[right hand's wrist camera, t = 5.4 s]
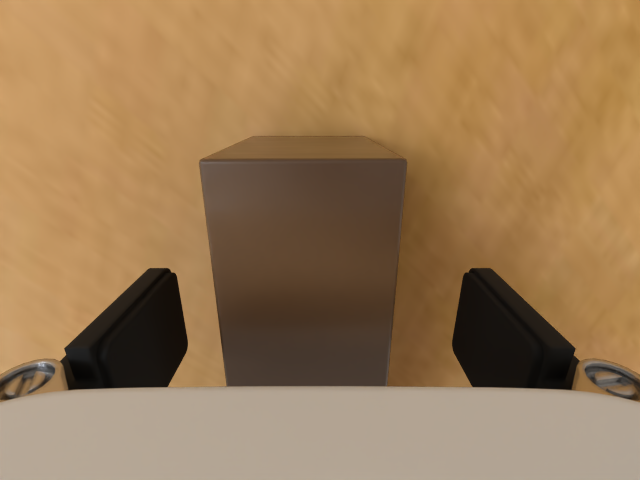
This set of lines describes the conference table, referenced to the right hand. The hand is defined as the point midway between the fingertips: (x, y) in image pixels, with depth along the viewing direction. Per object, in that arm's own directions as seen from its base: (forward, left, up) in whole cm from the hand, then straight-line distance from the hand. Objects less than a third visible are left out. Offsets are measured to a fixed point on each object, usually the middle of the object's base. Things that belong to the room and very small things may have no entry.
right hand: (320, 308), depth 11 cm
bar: (+32, 0, -4) cm, 32 cm away
